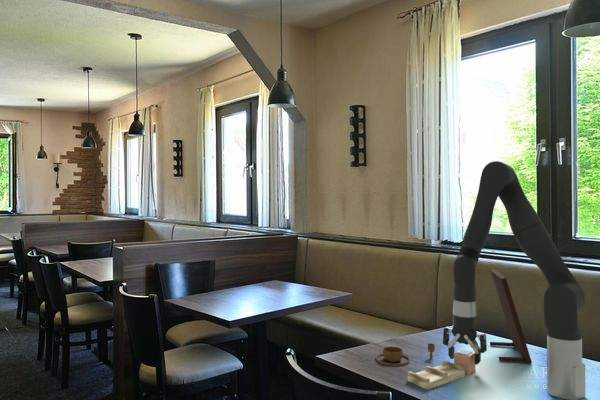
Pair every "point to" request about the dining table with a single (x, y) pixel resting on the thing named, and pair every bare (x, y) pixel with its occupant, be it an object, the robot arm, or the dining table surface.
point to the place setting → (399, 355)
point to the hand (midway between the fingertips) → (464, 361)
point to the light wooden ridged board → (436, 375)
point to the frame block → (465, 360)
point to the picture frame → (510, 320)
